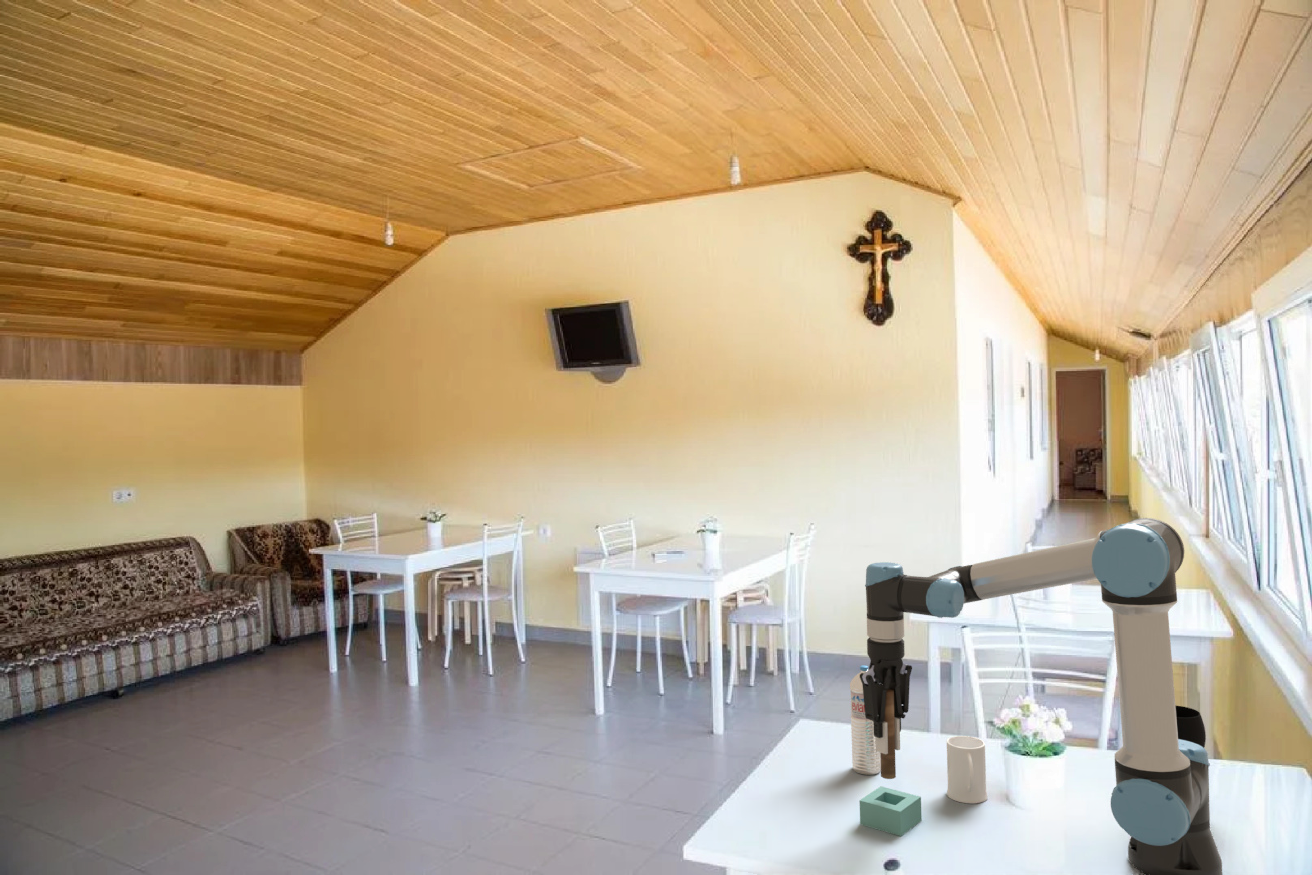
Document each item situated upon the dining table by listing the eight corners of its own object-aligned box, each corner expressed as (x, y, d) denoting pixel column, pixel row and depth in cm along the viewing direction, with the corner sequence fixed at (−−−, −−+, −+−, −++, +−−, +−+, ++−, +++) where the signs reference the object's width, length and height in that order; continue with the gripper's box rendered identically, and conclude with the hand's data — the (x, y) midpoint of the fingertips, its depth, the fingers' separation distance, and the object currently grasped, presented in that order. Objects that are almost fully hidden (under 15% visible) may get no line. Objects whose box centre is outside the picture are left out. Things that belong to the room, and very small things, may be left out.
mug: (990, 811, 196) (988, 755, 196) (948, 808, 198) (946, 752, 198) (985, 789, 207) (984, 736, 207) (946, 786, 210) (944, 734, 209)
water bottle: (846, 768, 223) (843, 665, 222) (869, 762, 226) (866, 661, 225) (864, 777, 216) (861, 671, 216) (887, 772, 219) (884, 667, 219)
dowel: (898, 776, 192) (896, 690, 192) (888, 780, 190) (886, 693, 190) (887, 772, 195) (885, 687, 194) (877, 775, 193) (875, 690, 192)
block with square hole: (921, 820, 193) (920, 796, 193) (901, 836, 186) (900, 811, 186) (881, 809, 199) (880, 786, 199) (860, 824, 192) (859, 800, 192)
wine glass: (1151, 810, 194) (1149, 715, 194) (1150, 791, 203) (1148, 701, 203) (1208, 818, 189) (1206, 721, 189) (1205, 799, 198) (1203, 706, 198)
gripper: (898, 628, 199) (900, 736, 200) (844, 640, 190) (847, 753, 191) (925, 635, 193) (928, 746, 194) (871, 647, 184) (874, 764, 185)
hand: (887, 749), depth 192 cm, fingers closed on dowel, 3 cm apart
